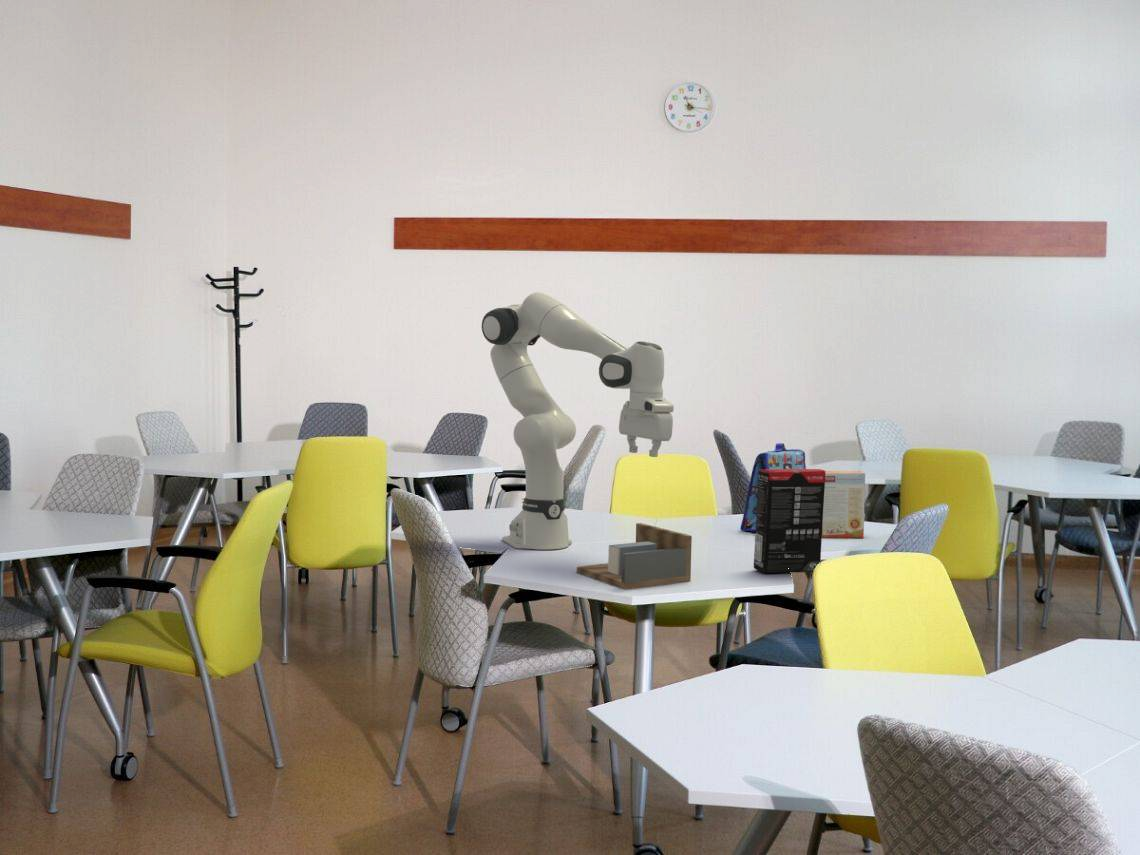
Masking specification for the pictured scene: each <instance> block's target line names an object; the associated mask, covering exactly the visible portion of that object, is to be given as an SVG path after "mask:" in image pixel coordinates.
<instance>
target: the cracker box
mask: <svg viewBox="0 0 1140 855" xmlns="http://www.w3.org/2000/svg"><path fill="white" fill-rule="evenodd" d="M824 471H825V473H826V475H825V491H824V507H823V524H822V539H828V538H829V539H831V538H832V539H833V538H834V539H837V538H838V539H842V538H843V539H844V538H845V539H864V537H865V536H864V530H865V529H864V528H865V503H866V502H865V498H866V494H865V493H866V473H865V472H862V471H861V470H860V471H859V470H858V471H857V470H856V471H855V470H853V471H851V470H850V471H849V470H824Z"/></svg>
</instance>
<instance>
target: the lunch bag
mask: <svg viewBox="0 0 1140 855" xmlns="http://www.w3.org/2000/svg"><path fill="white" fill-rule="evenodd" d="M765 469H807V467H806V452H805V451H803V450H802V449H797V448H796V449H794V448H793V449H791V448H790V449H787V448H786V447H785V443H783V442H780V443H779V442H777V443H776V444H775V447H774V450H769V451H766V452H761V453H758V454H757V456H756V458H755V460H754V463H753V466H752V471H751V475H750V480H749V485H748V489H747V490H748V491H747V494H746V500H745V504H744V510H743V517H742V521H741V524H740V531H744V532H745V531H749V532H753V533H754V532H755V533H756V515H757V494H758V473H759V470H765Z"/></svg>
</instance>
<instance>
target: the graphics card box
mask: <svg viewBox="0 0 1140 855" xmlns="http://www.w3.org/2000/svg"><path fill="white" fill-rule="evenodd" d="M825 471H826V470H824V469H821V468H806V469H765V470H759V473H758V494H757V515H756V532H755V535H754V536H755V537H754V554H753V569H754V570H757V571H758V572H761V573H763V574H780V573H782V574H783V573H784V574H785V573H786V574H788V573H813V572H812V570H813V568H814V566H816V565H817V564H818V563H819V562H820V563H821V558H822V539H823V538H822V524H823V507H824V491H825V475H826V473H825ZM788 568H789V569H788Z"/></svg>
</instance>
